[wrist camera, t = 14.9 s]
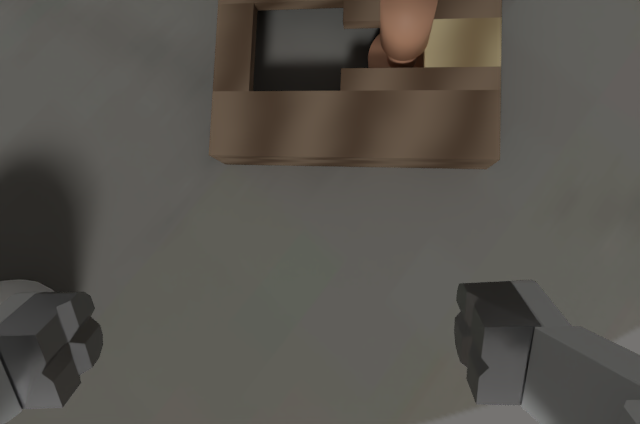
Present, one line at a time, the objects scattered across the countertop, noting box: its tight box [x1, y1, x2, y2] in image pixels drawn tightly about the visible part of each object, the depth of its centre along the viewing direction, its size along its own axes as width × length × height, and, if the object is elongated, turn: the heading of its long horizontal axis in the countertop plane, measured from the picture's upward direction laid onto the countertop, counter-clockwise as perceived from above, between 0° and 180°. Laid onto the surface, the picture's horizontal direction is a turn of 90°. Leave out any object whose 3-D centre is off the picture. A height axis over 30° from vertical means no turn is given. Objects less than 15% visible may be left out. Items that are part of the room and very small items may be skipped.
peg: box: [368, 0, 438, 68], centre depth 29 cm, size 5×5×9 cm
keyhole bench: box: [209, 0, 502, 169], centre depth 32 cm, size 20×16×4 cm
